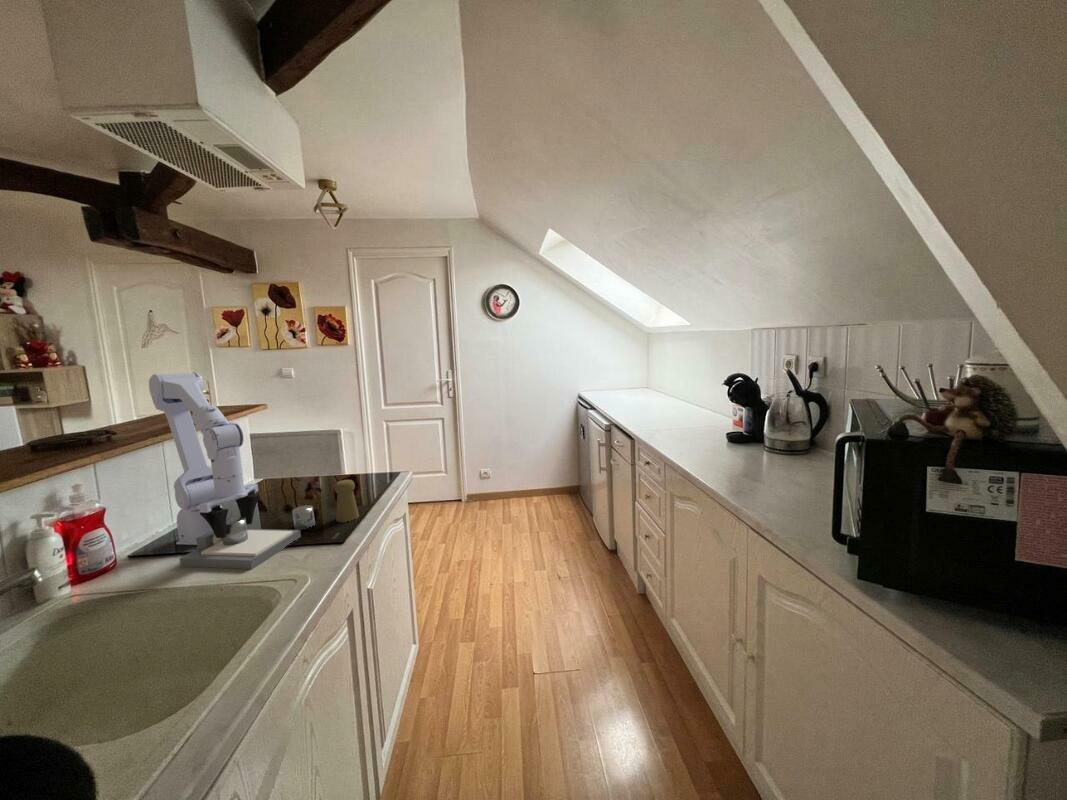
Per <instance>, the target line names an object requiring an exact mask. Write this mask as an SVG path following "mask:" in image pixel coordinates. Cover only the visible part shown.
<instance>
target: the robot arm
mask: <svg viewBox="0 0 1067 800" xmlns="http://www.w3.org/2000/svg"><path fill="white" fill-rule="evenodd" d="M148 385H149V386H148V390H149V393H150V394H149V395H150V397H151V399H152V400H151V401H152V403H153V405H154V407H155V409H156V410H158V411H160V412H163V413H164V416H165V417H166V419H167V423H168V424H169V425H168V426H169V428H170V431H171V435H172V437H173V441H174V443H175V444H174V445H175V447H176V448H175V449H176V450H177V453H178V457H179V461H180V463H181V466H182V469H183V472H182V473H181V474H180V475H179V477H177V479H175V481H174V484H173V489H174V496H175V501H176V504H177V506H178V507H179V508H180V510H179V511H178V512H177V515H176V526H177V534H178V541H177V542H175V543H176V544H175V545H189V546H190V545H191V546H197V541H196V538H197V537H199V536H201V535H203V534H205V533H207V532H209V531H211V530H213V532H214V534H215V536H216V538H224V537H226V534H227V530H226V520H227V517H228V513H229V509H228V508H223V505H227V504H229V503H232V502H233V501H235V503H236V504H237V507H238V510H239V514H240V517H245V518H246V524H247V525H252V524H253V519H254V513H255V509H256V506H257V504H258V502H259V500H260V499H261V494H260V493H257V492H259V487H258V484H257V483H249V484H247V485H245V483H244V476H243V467H242V465H243V464H242V458H241V451H240V448H241V447H242V446H243V444H244V432H243V430H242V428H241V426H240V425H239V423H237V422H233V421H229V420H228V419H227V418H226V416H225V415H224V414H223V413H222V411H221V410H220V409H219V408H218V407H217V406H215V405H212V404H211V405H210V404H209V402H208V400H207V398H206V396H205V394H204V388H205V384H204V379H203V377H202V375H200V373H199V372H197V371H193V372H185V373H184V372H183V373H182V372H180V373H163V374H158V373H153V374H152V375H151V376H150V378H149V379H148ZM191 412H192V414H191ZM195 426H196V427H197V429H198V430H199V431H200V433H201V434H202V438H203V439H202V442H203V446H204V448H205V451H206V456H207V458H208V459H209V460H210V464H211V465H210V466H209V465H208V463H207V460H206V457H205V455H204V451H203V448H202V445H201V441H200V439H199V436H198V433H197V430H196V427H195Z"/></svg>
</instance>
